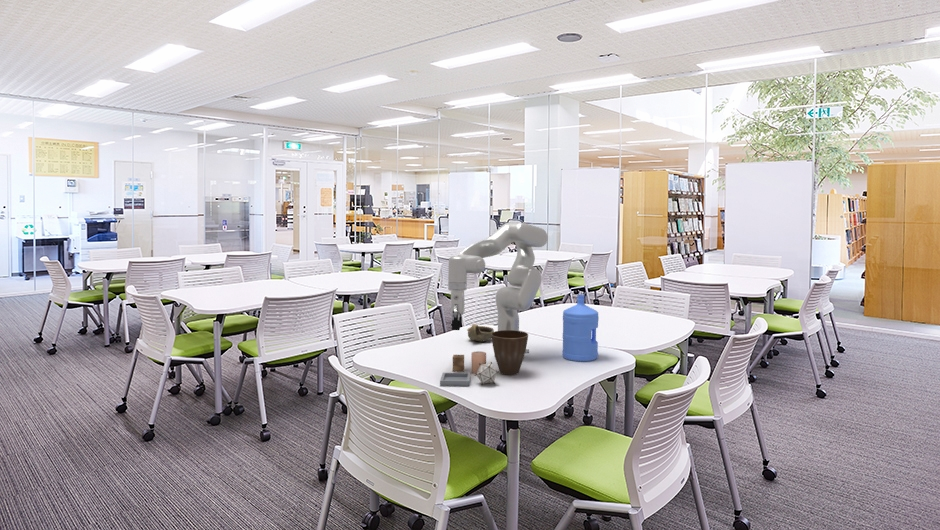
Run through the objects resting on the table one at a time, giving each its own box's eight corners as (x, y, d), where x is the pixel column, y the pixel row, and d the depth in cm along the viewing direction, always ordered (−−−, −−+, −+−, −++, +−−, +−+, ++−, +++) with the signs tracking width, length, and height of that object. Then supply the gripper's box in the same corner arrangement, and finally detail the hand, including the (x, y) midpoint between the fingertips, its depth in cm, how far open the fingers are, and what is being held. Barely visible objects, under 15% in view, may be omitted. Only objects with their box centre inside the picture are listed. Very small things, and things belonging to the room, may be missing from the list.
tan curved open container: (498, 339, 288) (498, 320, 287) (484, 346, 273) (484, 326, 272) (474, 336, 294) (474, 318, 293) (459, 343, 278) (459, 324, 277)
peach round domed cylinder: (486, 370, 231) (486, 351, 231) (486, 374, 225) (486, 355, 225) (471, 370, 232) (471, 351, 231) (471, 374, 226) (471, 355, 225)
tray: (470, 377, 221) (470, 372, 221) (469, 386, 210) (469, 381, 210) (442, 377, 222) (442, 372, 222) (440, 386, 211) (440, 380, 211)
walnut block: (464, 368, 234) (464, 354, 234) (463, 371, 230) (463, 357, 229) (453, 368, 234) (453, 354, 234) (452, 371, 230) (452, 357, 229)
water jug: (569, 362, 242) (569, 298, 240) (557, 353, 258) (558, 293, 255) (603, 361, 245) (604, 297, 242) (590, 352, 260) (591, 292, 258)
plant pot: (530, 368, 234) (530, 330, 232) (525, 379, 219) (525, 338, 218) (494, 366, 237) (494, 329, 235) (488, 376, 222) (487, 337, 221)
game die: (490, 394, 212) (496, 378, 206) (469, 385, 214) (475, 369, 207) (498, 377, 219) (503, 361, 213) (477, 368, 220) (483, 352, 214)
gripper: (465, 289, 221) (464, 332, 222) (468, 284, 238) (467, 324, 239) (446, 288, 221) (445, 331, 223) (450, 283, 239) (449, 323, 240)
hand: (456, 327), depth 231 cm, fingers open, 9 cm apart
